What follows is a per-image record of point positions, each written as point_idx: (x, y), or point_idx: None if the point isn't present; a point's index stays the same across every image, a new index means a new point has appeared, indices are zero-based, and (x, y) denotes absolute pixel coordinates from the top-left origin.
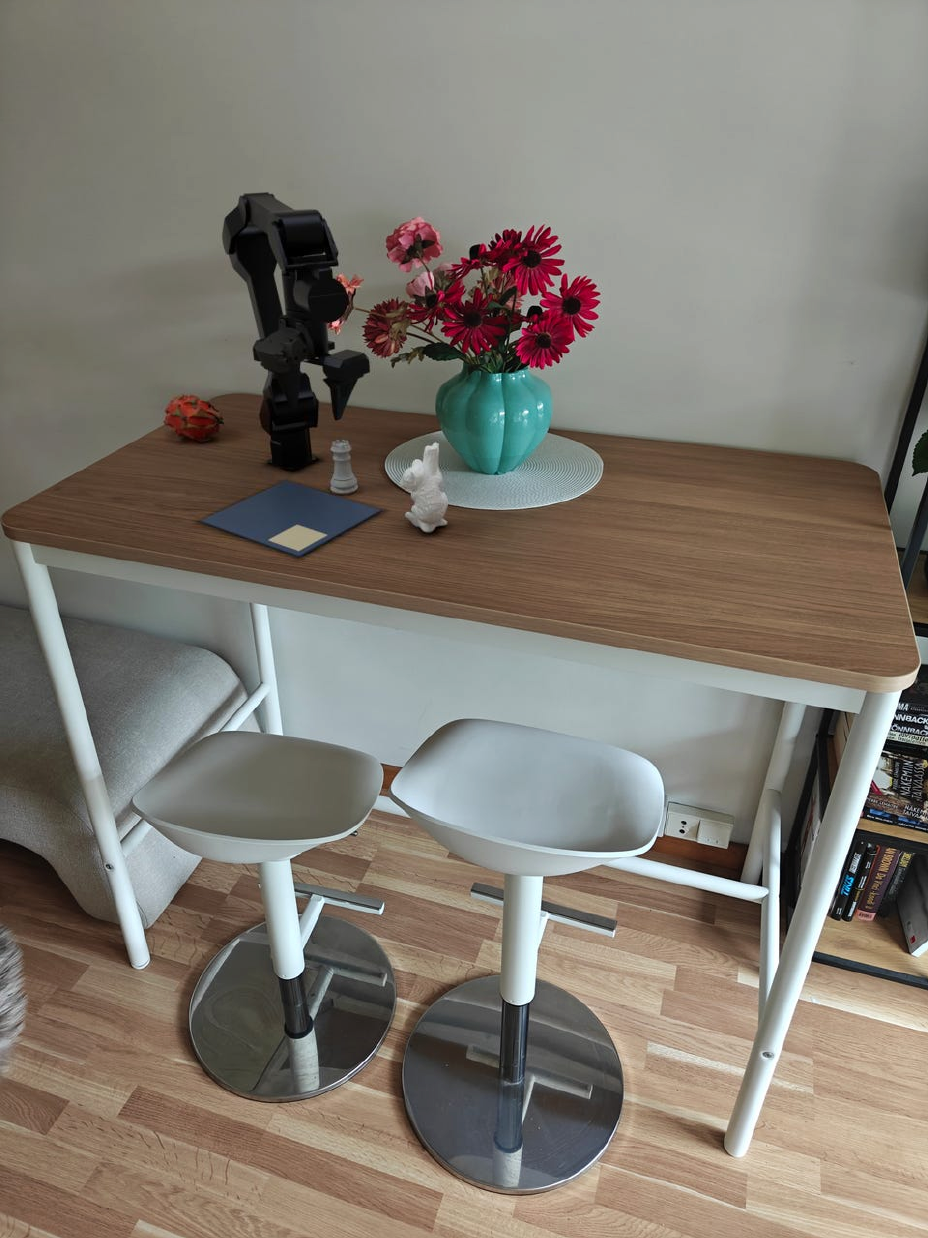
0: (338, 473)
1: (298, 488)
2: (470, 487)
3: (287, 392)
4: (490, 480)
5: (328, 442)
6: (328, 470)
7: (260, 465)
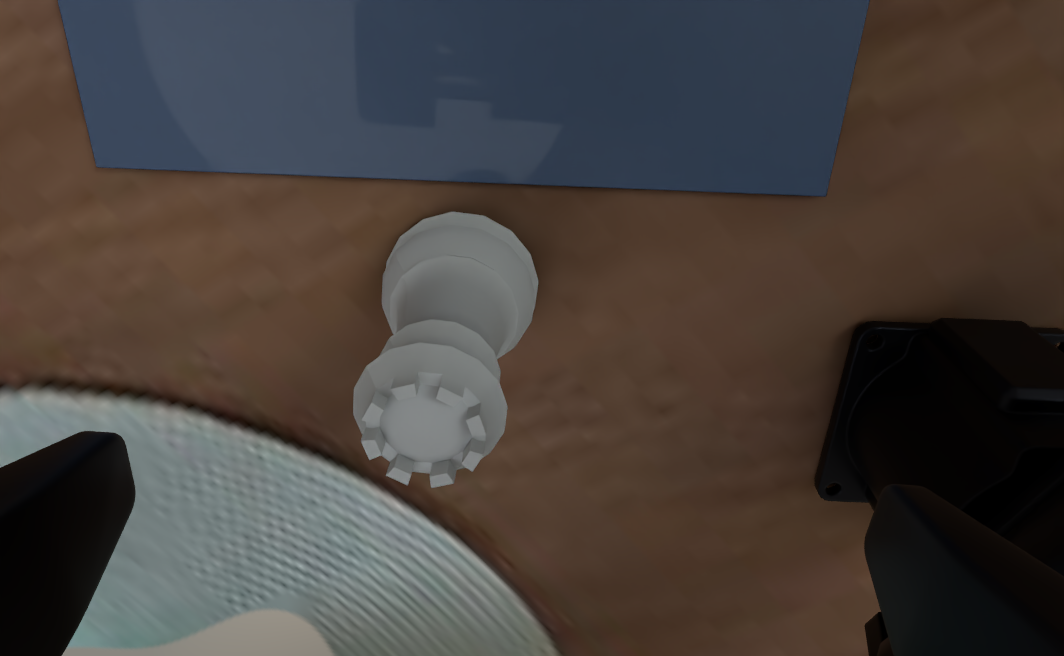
0: (437, 282)
1: (687, 148)
2: None
3: (1052, 638)
4: None
5: None
6: (697, 420)
7: None
